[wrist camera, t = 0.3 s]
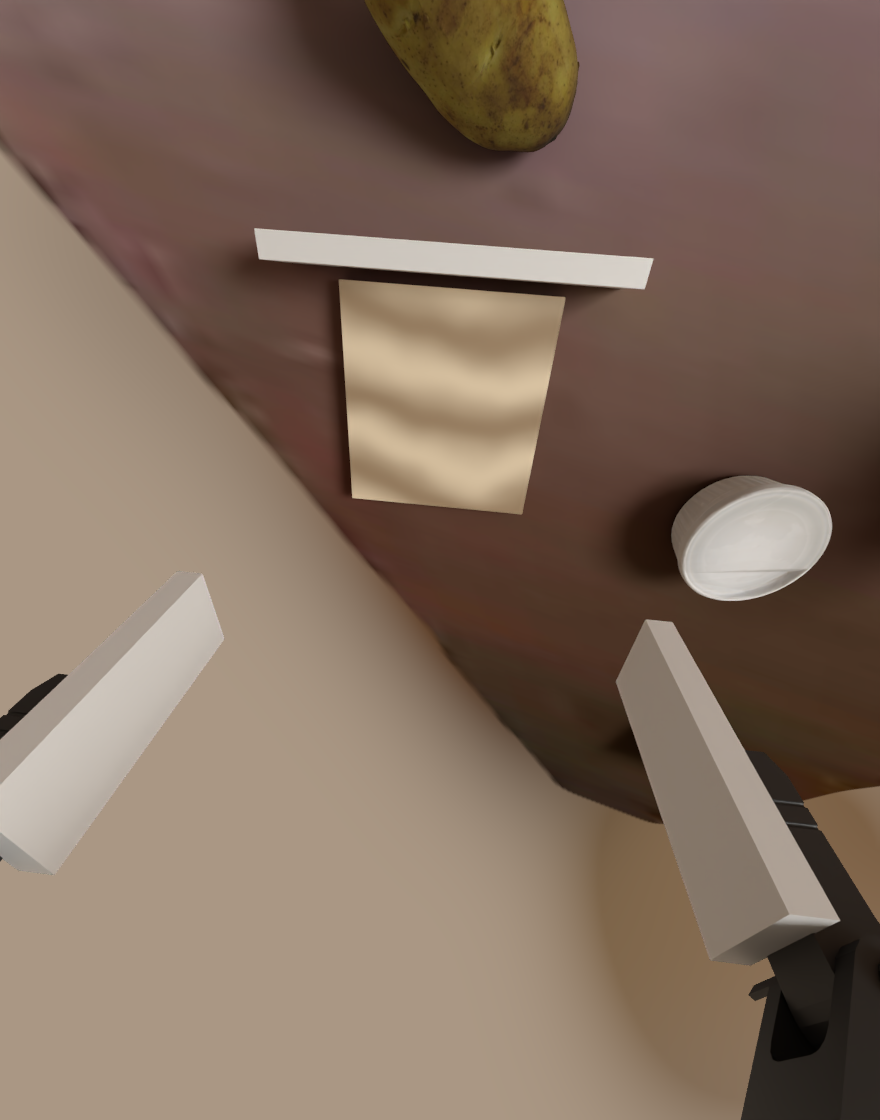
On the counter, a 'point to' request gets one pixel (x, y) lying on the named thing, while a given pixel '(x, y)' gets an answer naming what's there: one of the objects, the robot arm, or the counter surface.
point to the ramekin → (749, 537)
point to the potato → (488, 64)
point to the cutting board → (445, 391)
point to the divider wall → (453, 259)
